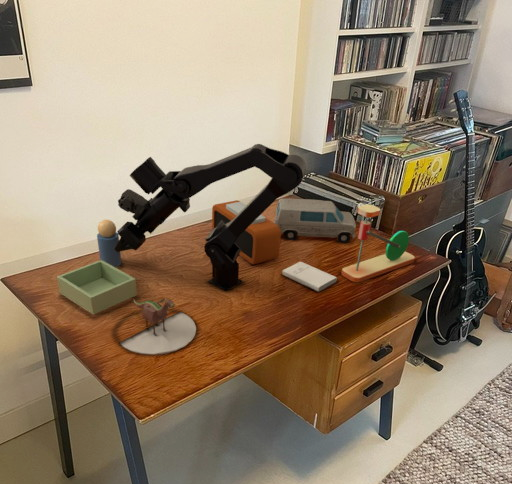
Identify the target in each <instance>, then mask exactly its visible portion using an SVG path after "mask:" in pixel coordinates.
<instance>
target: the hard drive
mask: <svg viewBox="0 0 512 484" xmlns="http://www.w3.org/2000/svg"><path fill="white" fill-rule="evenodd" d="M281 275H282V276H284V277H286V278H289V279H291V280H293V281H295V282H297V283H299V284H301V285H303V286H305V287H307V288H309V289H312V290H314V291H316V292H319V293H320V292H321V291H323V290H325V289H327V288H328V287H330V286H332V285H334V284H336V283H337V282H338V281H337V280H338V276H335V275H332V274H330V273H329V272H326V271H324V270H321V269H319V268H316V267H314V266H312V265H310V264H308V263H305V262H303V261H298V262H297V263H294V264H293V265H291V266H288V267H287V268H284V269H282V271H281Z"/></svg>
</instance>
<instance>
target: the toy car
mask: <svg viewBox="0 0 512 484" xmlns="http://www.w3.org/2000/svg"><path fill="white" fill-rule="evenodd" d="M273 223H275V224H276V225H278V226H279V228H280V231H281V236H282V235H283V238H284V239H285V240H287V241H296V240H297V239H298V237H313V238H336V241H337V242H338V243H342V244H348V243H349V242H350V241H351V238H352V239H355V237H356V233H355V231H356V227H357V226H356V225H357V224H356V220H355V218H354V216H353V214H352V213H351V212H350V211H341V210H340V209H339V208H338V207H337V206H336V205H335V203H334V202H333V201H331V200H322V199H305V198H278V203H277V206H276V209H275V217H274V220H273Z"/></svg>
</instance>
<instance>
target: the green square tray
mask: <svg viewBox="0 0 512 484" xmlns="http://www.w3.org/2000/svg"><path fill="white" fill-rule="evenodd" d="M56 279H57V285H58V290H59V293H60V294H61V295H62V296H64V297H65V298H67V299H69V300H70V301H71V302H73V303H75V304H76V305H78V306H79V307H81V308H82V309H83V310H85V311H87V312H89V313H90V314H91V315H96V314H98V313H100V312H103V311H105V310H108V309H110V308H111V307H114V306H116V305H118V304H120V303H123V302H125V301H127V300H130V299H131V298H132V299H133V298H134V297H136V296H137V295H138V291H137V281H136V279H137V278H135V277H133V276H131V275H129V274H128V273H126V272H124V271H123V270H121V269H119V268H118V267H113V266H112V265H110V264H108V263H106V262H104V261H102V260H100V259H99V260H97V261H94V262H91V263H89V264H86V265H84V266H81V267H78V268H75V269H72V270H71V271H68V272H65V273H63V274H59V275H57V276H56Z"/></svg>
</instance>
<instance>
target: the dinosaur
mask: <svg viewBox="0 0 512 484" xmlns="http://www.w3.org/2000/svg"><path fill="white" fill-rule="evenodd" d="M132 301H133V303H134V305H135V306H136V307H137V308H139V309H142V310H141V314H142V315H141V316H142V318H143V319H145V326H146V328H144V329H141V330H140V331H138V332H137V333H135V334H133V335H130V336H129V337H127V338H124V339H123V340H120V341H119V342H118V344H119V345H121V347H122V348H124V349H125V350H128V351H130V352H132V353H136V354H140V355H149V356H155V355H166V354H169V353H174V352H177V351H179V350H181V349H183V348H185V347H186V346H188V345H189V344H190V343H192V341H193V340H194V338H195V336H196V333H197V326H196V324H195V321H194V320H193V319H192V318H191V317H190V316H189V315H187V314H185V313H184V312H182V311H178V312H176V313H173V314H172V315H170V316H168V309H169V308H170V309H174V308H175V306H176V304H175V302H174V301H173V300H171V299H170V298H161V299H160V300H158V301H156V302H155V301H153V300H150V299H149V300H144V301H141V302H140V301H139V302H138V301H136V300H135V299H134V298H132ZM162 304H163V305H162ZM149 322H150V323H151V324H152V325H150V326H148V325H149V324H148V323H149Z"/></svg>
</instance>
